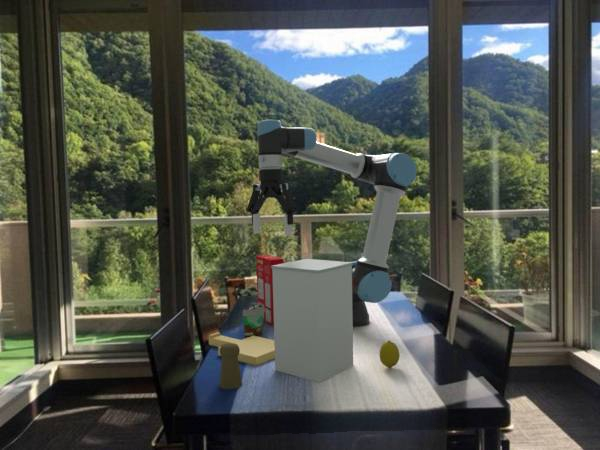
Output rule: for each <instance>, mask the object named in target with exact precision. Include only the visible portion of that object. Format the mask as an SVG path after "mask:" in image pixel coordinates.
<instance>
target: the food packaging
mask: <svg viewBox="0 0 600 450" xmlns="http://www.w3.org/2000/svg"><path fill="white" fill-rule="evenodd" d="M255 257H256V258H255V263H256V294H257V295H256V299H257V302H256V303H260V304H263V306H264V308H265V312H264V313H263V323H264V322H265V323H266V324H267V325H270V326H271V327H274V309H273V272H272V269H271V266H273V265H278V264H283V263H285V261H284V258H281V257H277V256H274V255H270V254H264V255H263V254H261V255H256V256H255Z"/></svg>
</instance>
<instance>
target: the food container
mask: <svg viewBox="0 0 600 450" xmlns="http://www.w3.org/2000/svg"><path fill="white" fill-rule="evenodd" d="M264 312H265V308H264V306H263V304H260V303H258V302H252V303H251V306H249V307H247V308H246V309H243V310H242V317H243V320H242V321H243V331H244V332H243V333H244V338H248V337H251V336H257V337H260V336H262V335H263V332H264V331H263V328H264V321H263V313H264Z"/></svg>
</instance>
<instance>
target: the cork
mask: <svg viewBox="0 0 600 450" xmlns="http://www.w3.org/2000/svg"><path fill="white" fill-rule="evenodd" d="M239 352H240V349H239V346H238V345H237V344H235V343H227V344H224V345H222V346H221V348H220V355H221V356H220V357H221V365H220V373H219V374H220V375H219V388H220V389H223V390H235V389H236V390H237V389H239V388H240V387H242V385H243V381H242V375H241V368H240V361H238V355H239Z"/></svg>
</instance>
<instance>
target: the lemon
mask: <svg viewBox="0 0 600 450" xmlns="http://www.w3.org/2000/svg"><path fill="white" fill-rule="evenodd" d="M379 359H380V362H381V363H382V364H383V366H385V367H387V368H388V369H391V368H393V367H394V366H396V365H397V364H398V363H399V360H400V350H399V348H398V346H397V344H396V342H392V341H391V340H387V341H385V342H384V343H383V344H382V345H381V346H380V349H379Z"/></svg>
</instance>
